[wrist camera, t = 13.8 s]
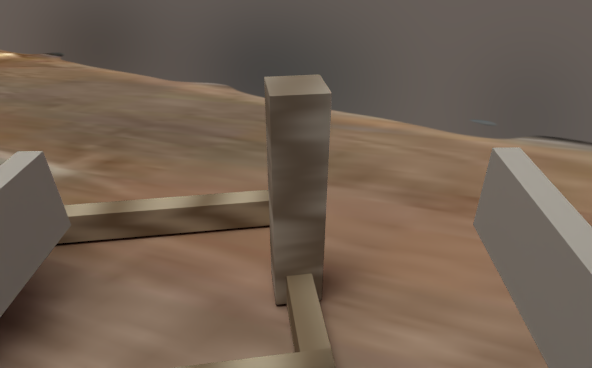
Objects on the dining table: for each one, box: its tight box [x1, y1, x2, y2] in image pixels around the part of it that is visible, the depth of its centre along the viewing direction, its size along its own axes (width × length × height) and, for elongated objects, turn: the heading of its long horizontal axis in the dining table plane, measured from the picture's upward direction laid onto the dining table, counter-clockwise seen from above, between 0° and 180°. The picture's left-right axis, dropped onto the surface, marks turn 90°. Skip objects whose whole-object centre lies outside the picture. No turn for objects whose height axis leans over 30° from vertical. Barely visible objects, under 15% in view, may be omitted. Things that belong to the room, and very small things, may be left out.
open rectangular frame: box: [57, 75, 336, 368], centre depth 24 cm, size 28×17×14 cm, turn 98°
